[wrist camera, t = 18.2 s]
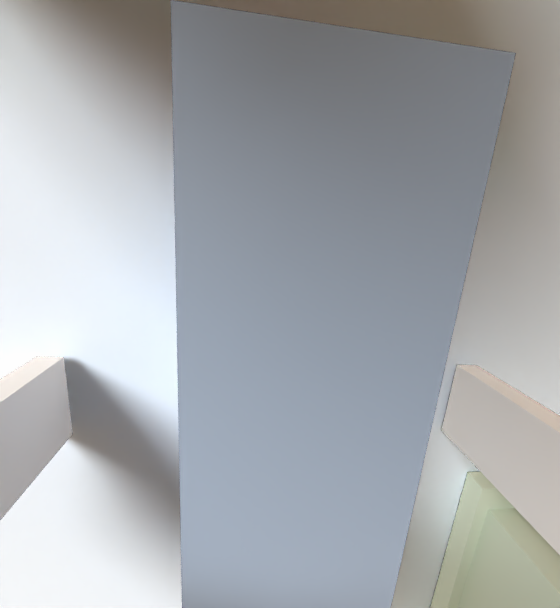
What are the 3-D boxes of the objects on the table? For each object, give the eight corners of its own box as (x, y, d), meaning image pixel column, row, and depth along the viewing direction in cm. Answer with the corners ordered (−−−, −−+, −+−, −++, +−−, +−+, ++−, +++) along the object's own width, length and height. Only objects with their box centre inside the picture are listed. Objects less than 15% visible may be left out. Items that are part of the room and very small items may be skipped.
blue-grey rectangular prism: (215, 130, 8) (170, 0, 3) (370, 147, 9) (515, 53, 4) (209, 561, 12) (185, 777, 7) (316, 555, 13) (357, 753, 8)
